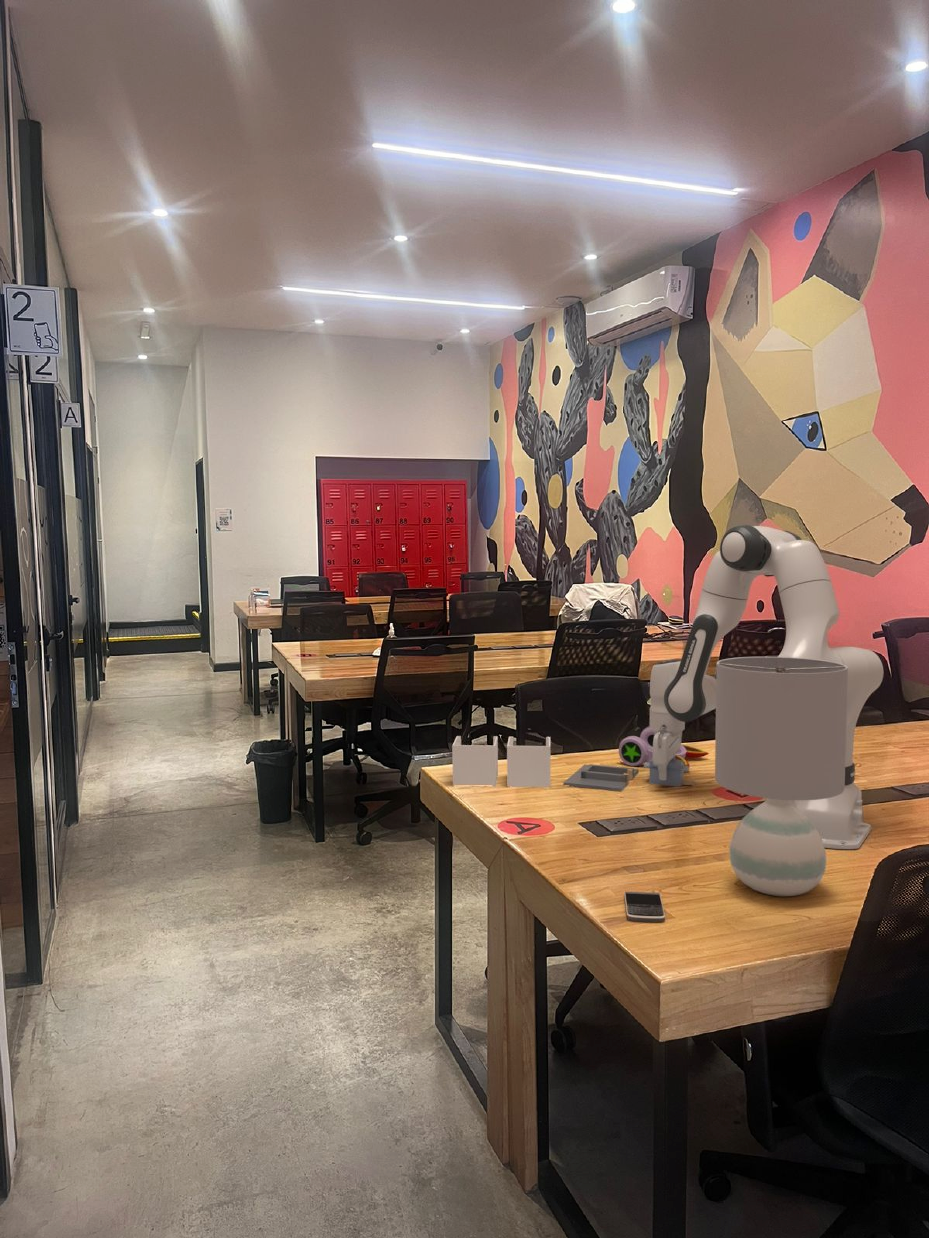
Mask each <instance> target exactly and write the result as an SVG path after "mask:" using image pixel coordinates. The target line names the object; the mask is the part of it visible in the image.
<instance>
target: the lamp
mask: <svg viewBox="0 0 929 1238" xmlns="http://www.w3.org/2000/svg"><path fill="white" fill-rule="evenodd" d="M715 667H716V674H715V678H716V708H715V746H714V747H715V748H714V749H715V750H714V752H715V754H714V755H715V756H714V757H715V758H714V780H715V782H716V783H717V785H719V786H721V787H722V788H724V789H726V790H729V791H731V792H733V793H734V792H735V793H738V794H742V795H746V796H750V797H755V798H763V799H764V802H762V803H760V804H759V805H757V806H756V807H755V806H754V808H753V809H751V810H750V811H749V812H748V813H746V815H745V816H744V817H742V819H741V820H740V821H739V823H737V825H736V828H735V829H734V831H733V833H732V836H731V839H730V843H729V847H728V848H729V851H728V854H729V856H728V858H729V863H730V866H731V868H732V871H733V872H734V874H735V876H736V877H737V878H738V879H739V880H740V881H741V882H742V883H743V884H744V885H746V886H747V887H748V888H750V889H752V890H754V891H756V892H758V893H762V894H764V895H768V896H773V897H795V896H800V895H804V894H806V893H808V892H810V891H811V890H814V888H815V887H817V886H818V885H819V884H820V882H821V881H822V878H823V877H824V875H825V872H826V869H827V854H826V850H825V849H826V848H824V845H823V842H822V839H821V837H820V835H819V833H818V831H817V830H816V828H815V827H814V825H813V824H812V823H811V822H810V820H809V819H808V818H807V817H806V816H805V815H804V814H803V813H802V812H801V811H800V810H798V809H797V808H796V807H795V806H793V805H792V804H791V800H818V799H825V798H831V797H834V796H837V795H839V794H841V793H842V792H843V791H844V789H845V755H846V718H847V680H848V667H847V666H846V665H844V664H841V663H837V662H832V661H826V660H818V659H808V658H795V657H778V656H742V657H740V656H739V657H732V658H731V657H729V658H725V659H724V658H723V659H720V660H718V661H717V662H716V666H715Z"/></svg>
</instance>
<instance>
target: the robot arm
mask: <svg viewBox="0 0 929 1238" xmlns="http://www.w3.org/2000/svg"><path fill="white" fill-rule="evenodd" d="M759 576H764V577H766V578H769V577H774V578H775V581H776V584H777V589H778V593H779V597H780V603H781V607H782V612H783V615H784V620H785V638H784V639H785V640H784V644H783V648H782V650H781V652H780V653H779V655H777V657H795V658H808V659H818V660H826V661H832V662H837V663H841V664H844V665H846V666H847V667H848V680H847V718H846V755H845V789H844V791H843V792H842V793H841V794H839V795H837V796H834V797H831V798H825V799H818V800H791V804H792V805H793V806H795V807H796V808H797V809H798V810H800V811H801V812H802V813H803V814H804V815H805V816H806V817H807V818H808V819H809V820H810V822H811V823H812V824H813V825H814V827H815V828H816V830H817V831H818V833H819V835H820V837H821V839H822V842H823V845H824V848H825V849H826V848H827V849H835V850H857V849H859V848H860V847H861V846H862V845H863V843H864V842H865V840H866V838H867V837H868V835H869V834H870V833H871V831H872V826H871V824H869V823H867V822H864V821H863V820H864V810H863V809H862V807H864V806H863V805H864V800H863V799H862V790H861V789H860V788H859V787H858V786H857V785H856V783H855V779H856V776H855V775H856V769H855V768H856V767H855V766H856V765H855V763H854V762H853V758H854V744H855V743H854V741H855V732H856V725H857V723H858V719H859V716H860V713H861V712H862V709H863V707H864V705H865V704H866V701H867V700H868V699H869V697H870V696H871V694H872V693H874V692H875V691H876V690H877V689H878V688H879V687H880V686H881V683H882V682H883V679H884V666H883V662H882V660H881V659H880V657H879V656H878V654H876V652H874V651H873V650H870V649H867V648H862V647H856V646H836V647H829V643H828V634H829V630H830V629H831V628H833V626H835V625H836V624H837V622H838V620H839V618H840V609H839V606H838V602H837V599H836V594H835V591H834V587H833V583H832V580H831V576H830V572H829V570H828V567H827V564H826V563H825V560H824V557H823V556H822V554H821V551H820V549H819V548H818V546H817V545H816V544H815V543H814V542H812V541H810V540H806V539H805V540H804V539H802V538H801V537H800V536H799V535H797V534H796V533H794V532H791V531H789V530H780V529H779V528H778V529H777V528H774V527H770V526H765V525H764V526H763V525H749V524H743V525H742V524H741V525H737V526H734V527H732V528H731V527H730V529H728V530H727V531H726V532H725V533H724V534H723V536H722V538H721V541H720V544H719V550H718V551H717V552H716V553H715V554H714V555H713V557H712V559H711V562H710V564H709V566H708V568H707V571H706V573H705V577H704V580H703V583H702V588H701V591H700V595H699V600H698V604H697V609H696V612H695V617H694V619H693V622H692V626H691V628H690V631H689V635H688V637H687V640H686V643H685V647H684V649H683V653H682V656H681V659H678V658H677V659H675V658H674V659H667V660H662V661H658V662H656V663H655V664H654V665H652V668H651V672H650V678H649V680H650V682H649V696H650V699H651V701H650V707H649V726H650V729H652V730H655V736H654V739H653V757H652V760H653V764H654V765H658V770H659V779H660V780H666V779H667V765H668V763H669V762H670V761H671V760H672V759H675V755H676V753H677V752H678V751H679V750H680V746H681V744H682V738H683V731H684V730H685V727H686V726H685V725H686V723H687V722H693V721H695V720H696V719H698V718H699V717H701V716H703V715H705V714H707V713H709V712H711V711H713V710H716V677H714V676H713V675H709V674H707V670H708V668H709V667H708V666H709V664H710V661H711V658H712V653H713V651H714V649H715V648H716V646H717V645H718V643H719V642H720V641H721V640H722V638H724V637H725V636H726V635H727V634H728V633H729V632H731V631H732V630H734V629H735V628H737V626H738V625H739V623H740V622H741V619H742V618H743V615H744V613H745V610H746V608H747V603H748V601H749V600H748V599H749V596H750V590H751V587H752V584H753V582H754V580H755V579H756V578H757V577H759Z"/></svg>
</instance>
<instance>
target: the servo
mask: <svg viewBox="0 0 929 1238" xmlns="http://www.w3.org/2000/svg"><path fill="white" fill-rule="evenodd" d="M690 768H691V767H690V766H684V760H676V759H672V760H671V761H670V762H669V763H668V765H667V779H666V780H660V779H659V770H658V765H654V764H653V760H652V759H651V760H650V762H647V763H646V762H645V763H644V765H643V769H648V770H649V776H648V777H649V784H651V785H661V786H669V787H682V785H686V786H695V783H696V782H695V779H692V778H691V779H689V778H685V777H684V773H687V772H688V771H690Z"/></svg>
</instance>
